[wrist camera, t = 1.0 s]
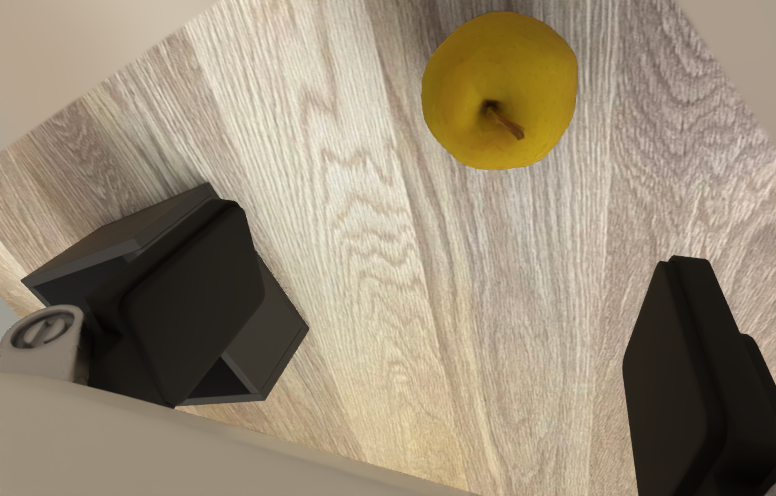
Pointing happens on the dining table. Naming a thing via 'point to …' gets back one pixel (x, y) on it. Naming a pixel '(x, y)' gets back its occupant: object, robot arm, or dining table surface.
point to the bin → (131, 238)
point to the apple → (500, 91)
